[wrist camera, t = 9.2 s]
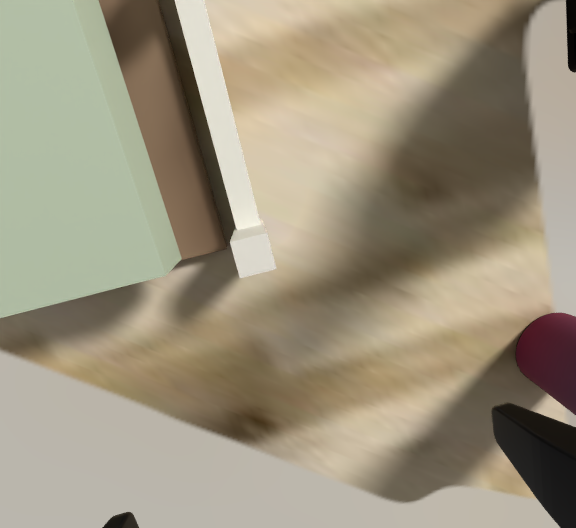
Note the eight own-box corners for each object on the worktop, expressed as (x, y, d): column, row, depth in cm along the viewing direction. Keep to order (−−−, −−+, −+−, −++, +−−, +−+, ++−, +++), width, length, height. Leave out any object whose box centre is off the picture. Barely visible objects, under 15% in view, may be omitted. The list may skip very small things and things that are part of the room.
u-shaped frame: (197, -39, 16) (168, -166, 10) (268, 244, 20) (276, 268, 14) (165, -33, 16) (119, -156, 10) (242, 250, 20) (240, 278, 14)
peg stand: (153, -18, 16) (123, -82, 12) (227, 245, 19) (222, 260, 15) (-63, 26, 16) (-166, -26, 12) (48, 290, 19) (-4, 317, 15)
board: (181, 258, 15) (165, 275, 12) (34, 296, 15) (-18, 322, 12) (80, -57, 12) (28, -131, 9) (-105, -19, 12) (-218, -85, 9)
